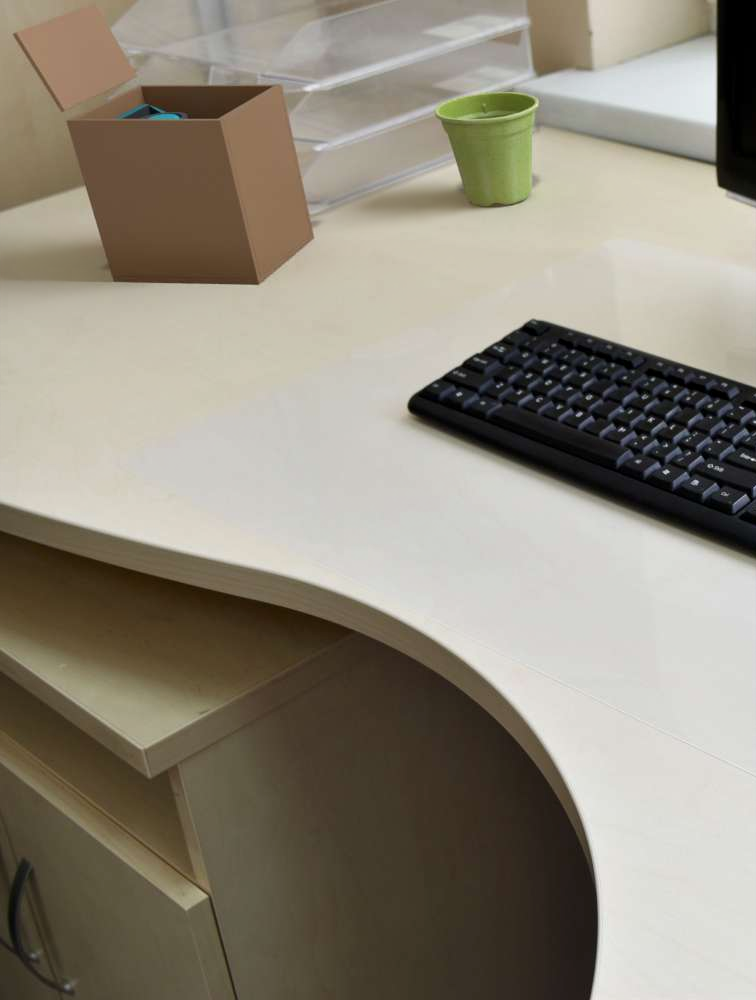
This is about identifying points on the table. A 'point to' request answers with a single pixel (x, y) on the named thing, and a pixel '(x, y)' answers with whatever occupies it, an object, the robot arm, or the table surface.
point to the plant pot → (492, 144)
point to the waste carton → (194, 183)
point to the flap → (75, 56)
